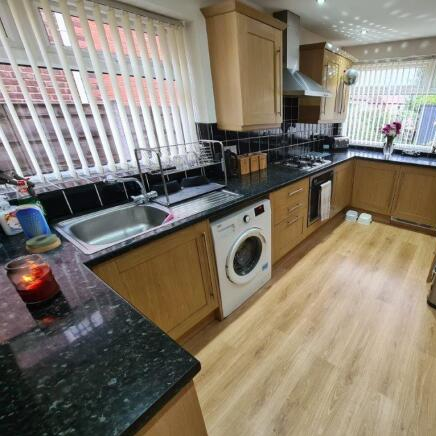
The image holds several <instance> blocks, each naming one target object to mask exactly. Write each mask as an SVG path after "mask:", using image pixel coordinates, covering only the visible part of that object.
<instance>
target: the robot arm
mask: <svg viewBox="0 0 436 436" xmlns="http://www.w3.org/2000/svg"><path fill="white" fill-rule="evenodd" d="M18 180H26V181H27V186H28V188H27V189H26V192H27V191H28V192H27V193H28V195H29V196H30V197H31V199H33V200H34V202H37V201H38V196H37V195H36V191H35V189H34V188H35V187H36V183H35V182H32V181H30V180H28V179H26V178H24V177H23V176H20V175H19V174H17V172H14V171H12V172H11V173H9V174H8V173H6V172H5V171H4V170H3V168H1V167H0V186H3V185H6V184H7V185H10V186H11V185H12V186H14V187H18V186H17V181H18Z"/></svg>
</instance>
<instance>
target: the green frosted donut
mask: <svg viewBox="0 0 436 436" xmlns="http://www.w3.org/2000/svg"><path fill="white" fill-rule="evenodd" d="M61 244H62V241H61V239H60V237H58V236H57V235H56V233H50V234H44V235H40V236H36V237H33V238H31V239H27V241H25V245H26V246H25V249H26V251H27V253H29V254H40V253H45V252H48V251H52V250H54V249H56V248H58V247H60V246H61Z"/></svg>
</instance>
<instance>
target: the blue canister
mask: <svg viewBox="0 0 436 436" xmlns="http://www.w3.org/2000/svg"><path fill="white" fill-rule="evenodd" d="M14 215H15V217H16V219H17V221H18V223H19V225H20V227H21V229H22V231H23V233H24V235H25V237H26V239H27V240H29V239H31V238H33V237H36V236H40V235H44V234H52V231H51V228H50V227H49V225H48V223H47V220H46V217H45V216H44V213H43V211H42V209H41V207H40V206H38V205H36V204H35V203H26V204H20V205H18V206H15V210H14Z"/></svg>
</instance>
